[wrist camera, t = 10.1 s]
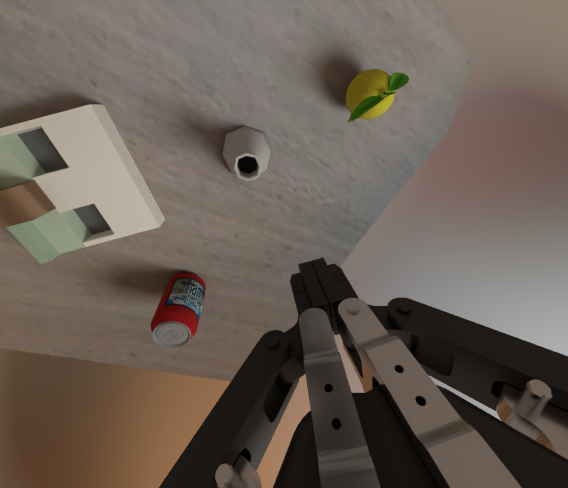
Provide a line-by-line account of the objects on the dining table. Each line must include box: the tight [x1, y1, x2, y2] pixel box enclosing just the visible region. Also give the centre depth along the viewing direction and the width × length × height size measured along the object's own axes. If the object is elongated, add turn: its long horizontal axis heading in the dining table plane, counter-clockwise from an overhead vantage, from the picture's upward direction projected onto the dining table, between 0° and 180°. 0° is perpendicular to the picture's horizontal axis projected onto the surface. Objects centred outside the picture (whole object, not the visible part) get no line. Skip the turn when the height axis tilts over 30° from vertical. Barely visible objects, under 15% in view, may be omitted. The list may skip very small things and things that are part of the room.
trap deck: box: [0, 104, 165, 264], centre depth 32 cm, size 17×16×5 cm
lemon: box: [346, 69, 409, 122], centre depth 30 cm, size 7×6×10 cm
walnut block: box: [0, 180, 56, 228], centre depth 30 cm, size 4×4×4 cm
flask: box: [222, 126, 271, 181], centre depth 31 cm, size 7×7×10 cm
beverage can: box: [151, 273, 206, 348], centre depth 41 cm, size 7×7×12 cm
